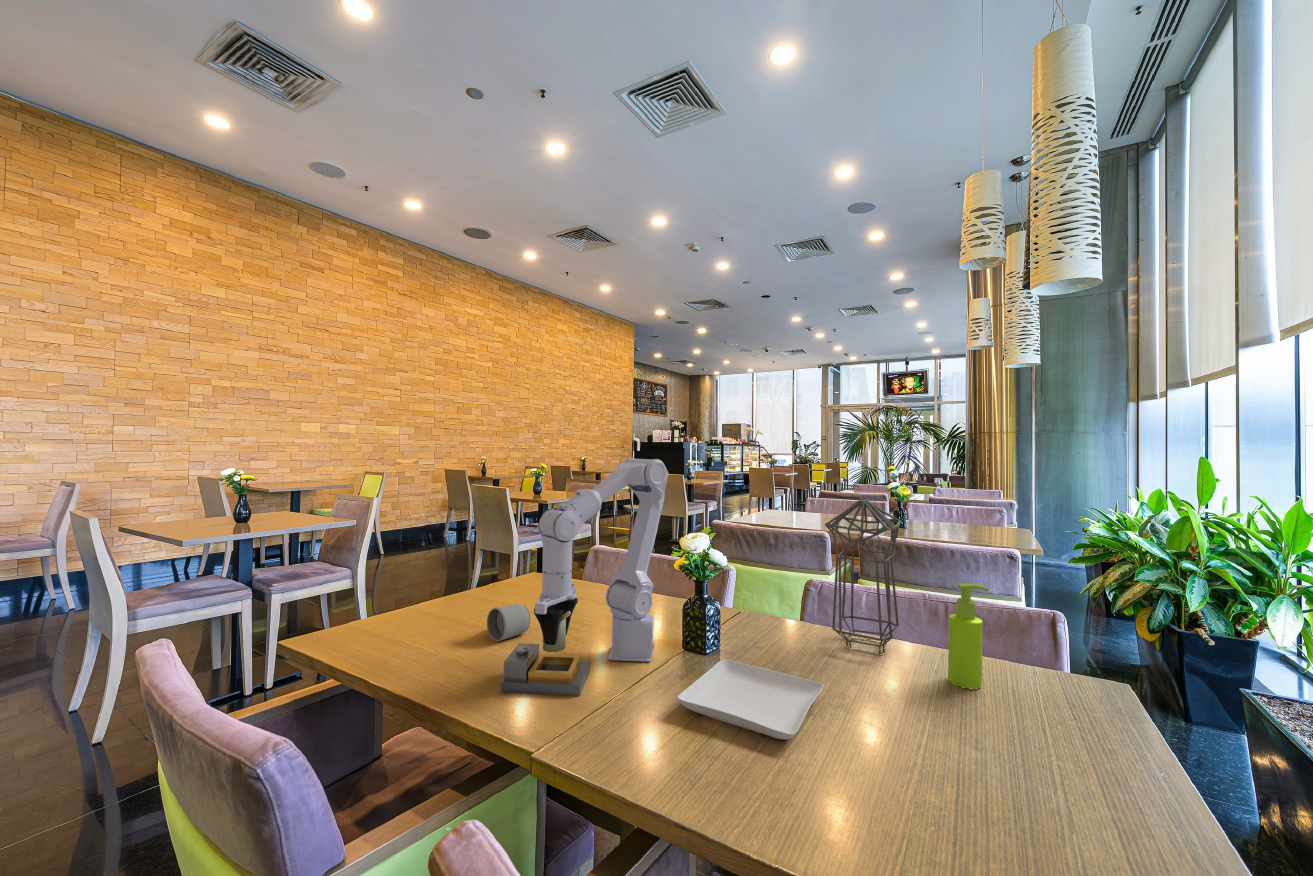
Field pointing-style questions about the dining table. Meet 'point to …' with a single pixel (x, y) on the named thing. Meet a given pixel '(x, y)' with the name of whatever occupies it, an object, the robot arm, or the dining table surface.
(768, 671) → the salad plate
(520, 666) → the assembly fixture
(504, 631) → the grey hollow cylinder
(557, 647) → the spout can
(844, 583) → the geometric lantern
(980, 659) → the soap dispenser
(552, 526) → the robot arm
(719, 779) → the dining table surface
